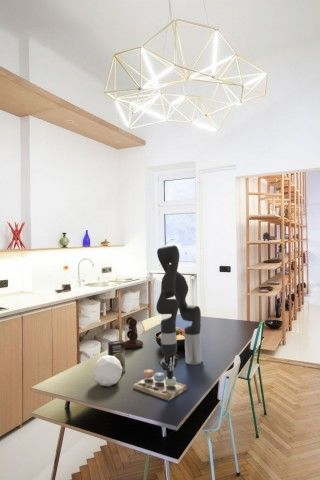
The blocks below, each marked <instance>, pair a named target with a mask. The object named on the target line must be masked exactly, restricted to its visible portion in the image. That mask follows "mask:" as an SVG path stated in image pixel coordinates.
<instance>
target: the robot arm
mask: <svg viewBox="0 0 320 480" xmlns="http://www.w3.org/2000/svg"><path fill="white" fill-rule="evenodd" d="M156 255H157V258H158V262H159V263H160V265H161V267H162V270H163V271H164V275H163V277H162V278H161V282H160V284H161V285H160V286H161V287H160V294H159V297H158V299H157V302H156V309H155V310H156V311H157V313H158V314H159V315H171V316H169V317H166V318H163V319H162V320H161V321H160V350H161V353H162V358H161V360H160V361H159V362H158V364H159V365H160V367H161V369H163V371H166V377H167V378H168V379H172V378H173V376H174V369H176V368H177V365H178V362H179V359H180V355H178V354H177V352H178V341H177V339H178V337H177V327H176V326H177V325H176V324H177V323H176V322H177V317H178V316H177V315H178V311H179V314H180V318H181V319H182V320H183V321H186V322H191V325H189V326H186V327H184V332H183V333H184V351H185V352H184V353H185V354H184V356H185V364H187V365H193V366H195V365H196V366H197V365H200V364H201V363H202V361H203V355H202V354H203V352H202V350H203V348H202V343H201V342H202V341H201V328H202V327H201V323H202V322H201V319H202V318H201V316H202V315H201V308H200V306H198V305H190V304H188V302H187V301H186V300H187V299H186V298H187V295H188V293H189V286H188V282H187V280H186V278H185V276H184V274H182V273H180V272H179V271H178V267H179V264H180V263H179V262H180V251H179V248H178V246H177V245H176V244H171V245H165V246H162V247H158V248H157V251H156ZM173 297H175V298H173Z"/></svg>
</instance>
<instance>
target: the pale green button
mask: <svg viewBox="0 0 320 480" xmlns="http://www.w3.org/2000/svg"><path fill="white" fill-rule="evenodd" d="M176 382H177V378H176V377H175V376H174V375H173V378H172V379H168V378H167V376H166V377H165V384H166V385H168V386H173V385H175V384H176Z"/></svg>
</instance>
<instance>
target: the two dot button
mask: <svg viewBox="0 0 320 480" xmlns="http://www.w3.org/2000/svg"><path fill="white" fill-rule="evenodd" d="M154 374H155V373H154V370H153V369H144V370H143V378H144V379H145V378H152V377H154Z"/></svg>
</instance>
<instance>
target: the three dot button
mask: <svg viewBox="0 0 320 480" xmlns="http://www.w3.org/2000/svg"><path fill="white" fill-rule="evenodd" d="M165 378H166V377H165V373H164V372H155V373H154V380H155V381H158V382H159V381H164V380H165Z"/></svg>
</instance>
